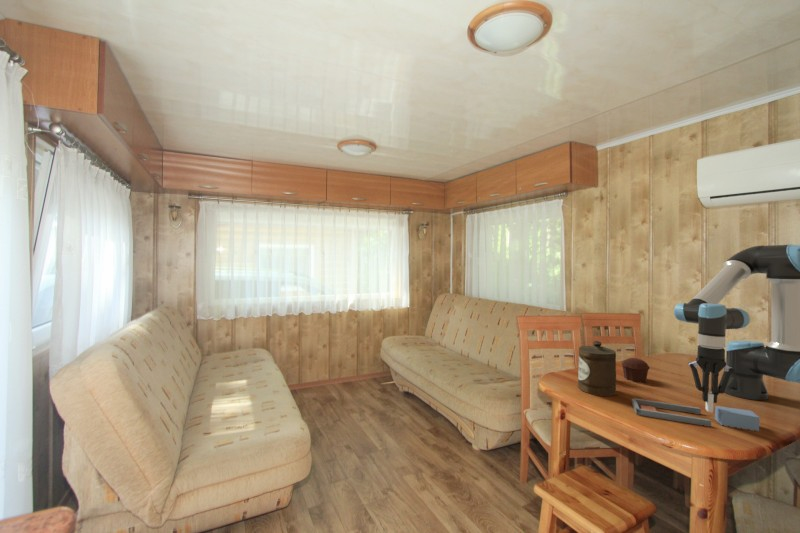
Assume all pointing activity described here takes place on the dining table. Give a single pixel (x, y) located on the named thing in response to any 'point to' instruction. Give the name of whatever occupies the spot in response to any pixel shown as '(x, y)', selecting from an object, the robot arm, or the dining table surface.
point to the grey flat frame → (650, 411)
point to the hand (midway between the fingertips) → (709, 410)
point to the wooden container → (597, 370)
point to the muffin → (635, 369)
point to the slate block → (737, 418)
